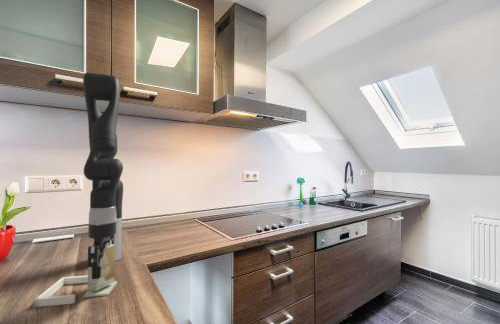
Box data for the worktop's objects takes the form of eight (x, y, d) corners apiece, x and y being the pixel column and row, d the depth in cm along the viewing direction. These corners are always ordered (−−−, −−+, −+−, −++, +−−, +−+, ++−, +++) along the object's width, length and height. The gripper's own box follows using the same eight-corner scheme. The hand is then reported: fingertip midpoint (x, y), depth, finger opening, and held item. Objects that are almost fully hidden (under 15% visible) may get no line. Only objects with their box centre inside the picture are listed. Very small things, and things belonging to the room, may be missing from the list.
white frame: (62, 283, 79) (62, 277, 79) (94, 280, 81) (94, 274, 81) (34, 307, 65) (34, 299, 65) (73, 303, 67) (73, 296, 67)
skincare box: (96, 291, 71) (97, 250, 71) (86, 288, 73) (87, 248, 73) (115, 281, 77) (116, 244, 77) (106, 279, 79) (106, 242, 79)
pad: (95, 284, 78) (95, 282, 78) (117, 282, 79) (117, 280, 79) (83, 297, 70) (83, 295, 70) (107, 295, 72) (107, 293, 72)
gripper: (99, 216, 82) (98, 264, 81) (78, 226, 68) (76, 284, 67) (123, 215, 83) (122, 262, 83) (106, 225, 69) (105, 282, 69)
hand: (101, 272), depth 75 cm, fingers closed on skincare box, 7 cm apart
